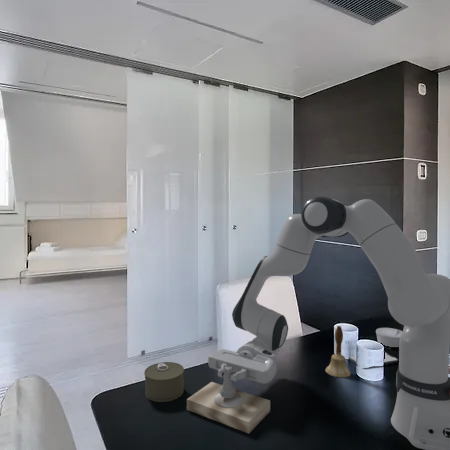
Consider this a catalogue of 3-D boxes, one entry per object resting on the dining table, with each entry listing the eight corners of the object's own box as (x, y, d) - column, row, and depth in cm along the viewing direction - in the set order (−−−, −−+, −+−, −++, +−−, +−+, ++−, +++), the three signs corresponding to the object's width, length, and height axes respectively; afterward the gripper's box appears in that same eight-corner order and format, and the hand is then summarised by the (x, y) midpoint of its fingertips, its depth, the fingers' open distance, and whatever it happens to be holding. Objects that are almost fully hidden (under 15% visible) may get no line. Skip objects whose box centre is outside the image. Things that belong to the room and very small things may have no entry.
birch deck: (270, 411, 101) (270, 399, 101) (248, 433, 91) (248, 421, 91) (211, 391, 112) (211, 380, 112) (186, 409, 102) (186, 398, 102)
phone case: (362, 371, 127) (400, 364, 131) (362, 366, 127) (400, 360, 131) (347, 360, 136) (383, 354, 140) (347, 356, 135) (383, 350, 140)
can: (148, 406, 105) (148, 382, 104) (141, 386, 116) (141, 365, 115) (189, 397, 109) (188, 375, 109) (178, 379, 120) (178, 359, 120)
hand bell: (354, 371, 125) (355, 325, 125) (345, 380, 119) (345, 332, 118) (331, 364, 131) (332, 320, 130) (321, 372, 124) (321, 326, 124)
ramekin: (411, 350, 143) (411, 337, 143) (382, 350, 143) (382, 337, 143) (398, 339, 154) (398, 327, 154) (371, 339, 155) (371, 327, 154)
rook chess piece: (230, 400, 99) (230, 372, 98) (216, 396, 101) (216, 368, 101) (238, 393, 103) (238, 365, 102) (225, 389, 105) (225, 362, 104)
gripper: (222, 341, 118) (196, 356, 106) (280, 355, 107) (258, 374, 95) (222, 360, 118) (196, 377, 107) (280, 376, 107) (258, 397, 95)
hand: (226, 376), depth 101 cm, fingers closed on rook chess piece, 3 cm apart
